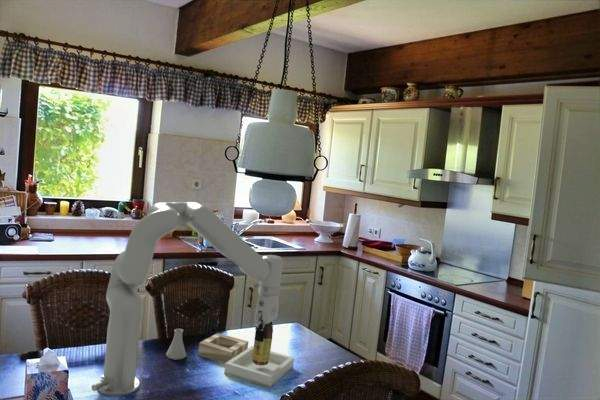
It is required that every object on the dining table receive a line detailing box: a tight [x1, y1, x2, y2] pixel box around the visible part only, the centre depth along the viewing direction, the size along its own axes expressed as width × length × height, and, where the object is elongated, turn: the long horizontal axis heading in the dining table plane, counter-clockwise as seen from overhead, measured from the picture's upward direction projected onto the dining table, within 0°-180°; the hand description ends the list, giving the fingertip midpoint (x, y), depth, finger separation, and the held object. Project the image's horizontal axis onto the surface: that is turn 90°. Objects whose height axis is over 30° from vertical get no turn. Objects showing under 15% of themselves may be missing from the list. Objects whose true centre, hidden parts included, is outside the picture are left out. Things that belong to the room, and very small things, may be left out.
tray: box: [224, 345, 295, 389], centre depth 181 cm, size 20×18×4 cm
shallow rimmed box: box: [197, 332, 249, 364], centre depth 192 cm, size 13×14×5 cm
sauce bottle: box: [252, 320, 274, 365], centre depth 180 cm, size 7×6×20 cm
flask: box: [165, 328, 188, 360], centre depth 185 cm, size 7×7×10 cm
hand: (263, 337), depth 180 cm, fingers closed on sauce bottle, 6 cm apart
